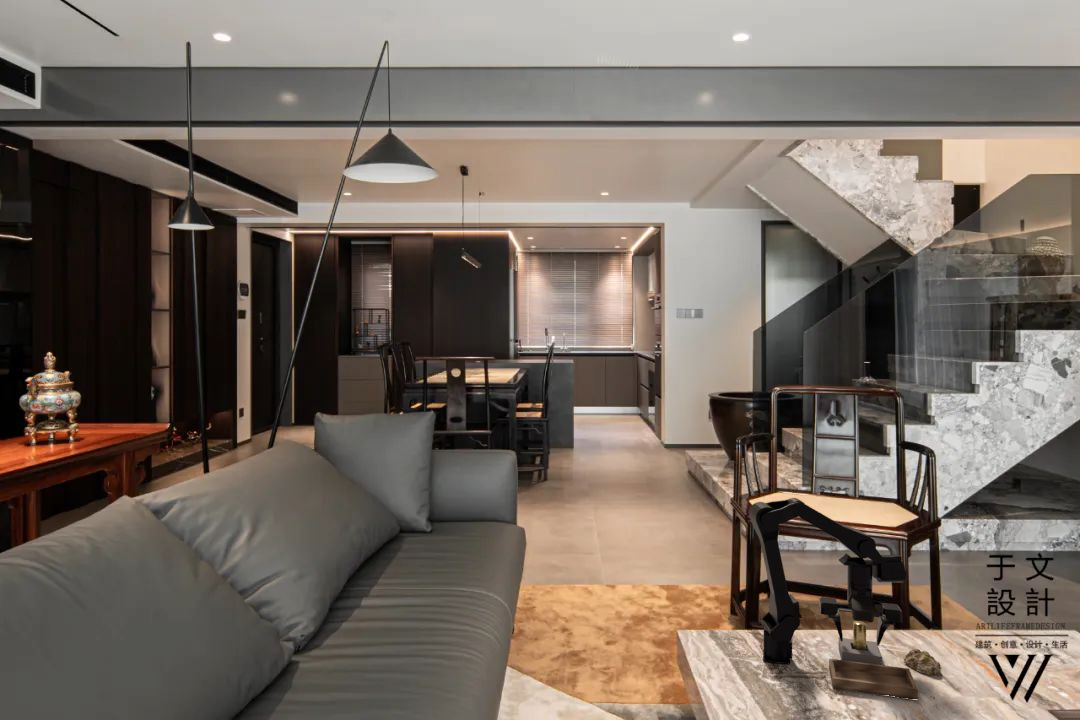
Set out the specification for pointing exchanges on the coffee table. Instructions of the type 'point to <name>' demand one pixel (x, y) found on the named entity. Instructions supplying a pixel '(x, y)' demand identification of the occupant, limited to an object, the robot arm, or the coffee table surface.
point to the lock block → (860, 652)
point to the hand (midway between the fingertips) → (859, 642)
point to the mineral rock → (922, 662)
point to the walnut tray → (872, 679)
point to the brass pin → (859, 635)
